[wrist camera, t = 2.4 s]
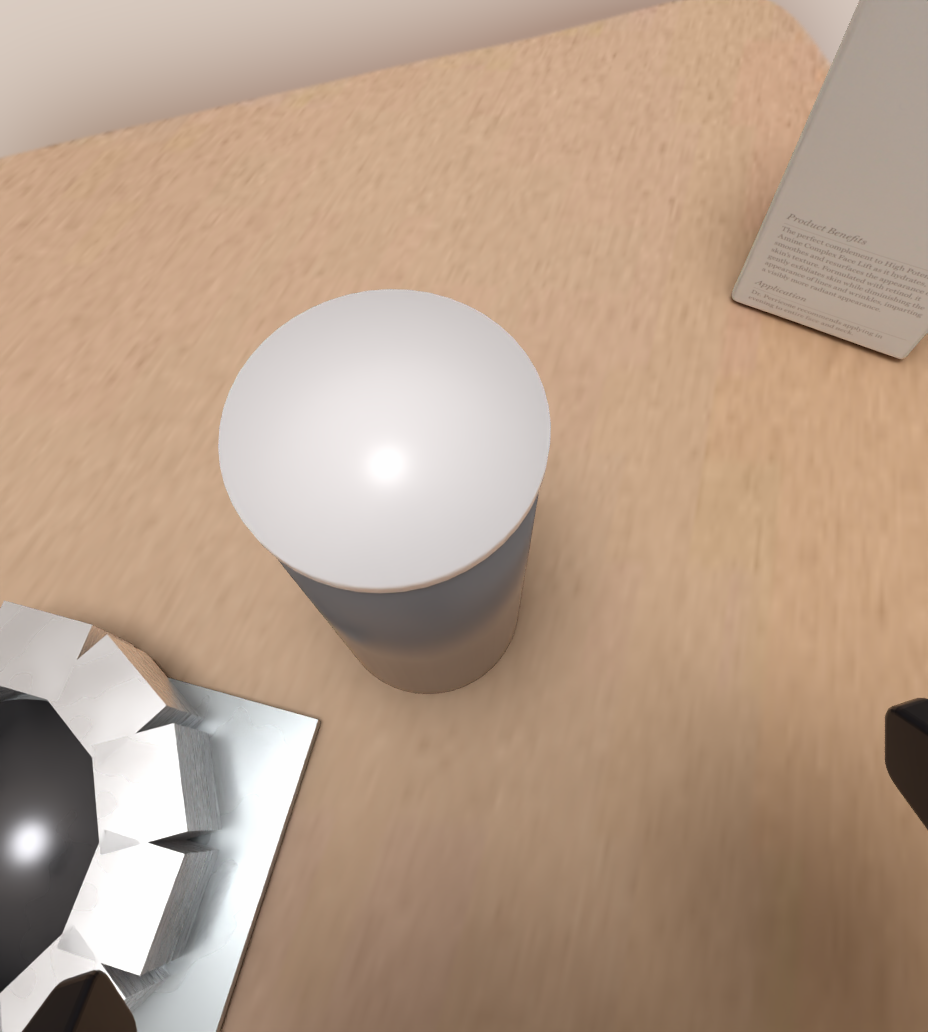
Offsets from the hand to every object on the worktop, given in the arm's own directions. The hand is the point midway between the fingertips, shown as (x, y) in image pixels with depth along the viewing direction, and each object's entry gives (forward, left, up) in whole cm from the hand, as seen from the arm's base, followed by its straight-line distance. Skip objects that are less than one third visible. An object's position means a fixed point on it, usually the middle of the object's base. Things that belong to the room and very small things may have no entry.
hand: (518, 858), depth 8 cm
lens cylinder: (+3, -5, -13) cm, 14 cm away
